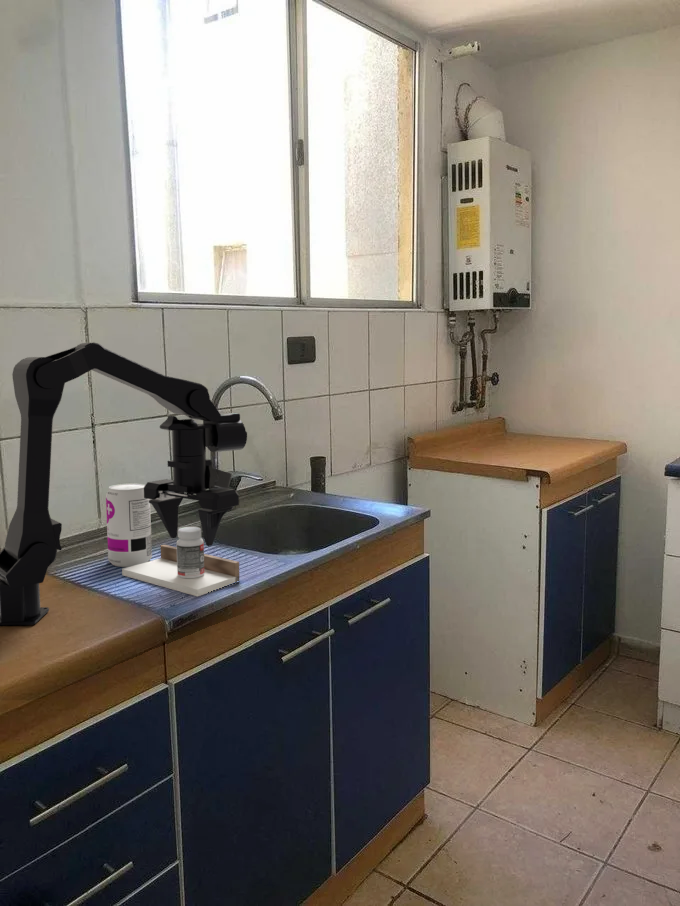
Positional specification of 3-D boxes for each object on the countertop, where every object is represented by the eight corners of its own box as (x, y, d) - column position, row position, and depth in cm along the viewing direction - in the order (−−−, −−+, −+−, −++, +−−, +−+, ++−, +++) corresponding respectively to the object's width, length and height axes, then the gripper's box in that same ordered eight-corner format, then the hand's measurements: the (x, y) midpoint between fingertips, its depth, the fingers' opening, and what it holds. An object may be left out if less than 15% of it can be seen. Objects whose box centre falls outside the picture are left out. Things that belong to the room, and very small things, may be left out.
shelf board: (239, 582, 130) (239, 561, 129) (197, 596, 122) (197, 575, 121) (165, 563, 142) (164, 544, 141) (122, 575, 134) (121, 555, 133)
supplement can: (107, 569, 137) (104, 491, 135) (109, 557, 145) (106, 483, 143) (152, 566, 139) (149, 489, 137) (151, 555, 147) (149, 482, 145)
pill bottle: (206, 577, 128) (205, 530, 127) (179, 580, 127) (178, 533, 126) (201, 570, 133) (200, 525, 132) (175, 572, 131) (174, 527, 130)
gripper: (260, 454, 128) (261, 540, 130) (187, 446, 139) (189, 526, 141) (214, 461, 119) (215, 553, 121) (140, 452, 130) (143, 537, 132)
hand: (191, 541), depth 129 cm, fingers open, 9 cm apart
